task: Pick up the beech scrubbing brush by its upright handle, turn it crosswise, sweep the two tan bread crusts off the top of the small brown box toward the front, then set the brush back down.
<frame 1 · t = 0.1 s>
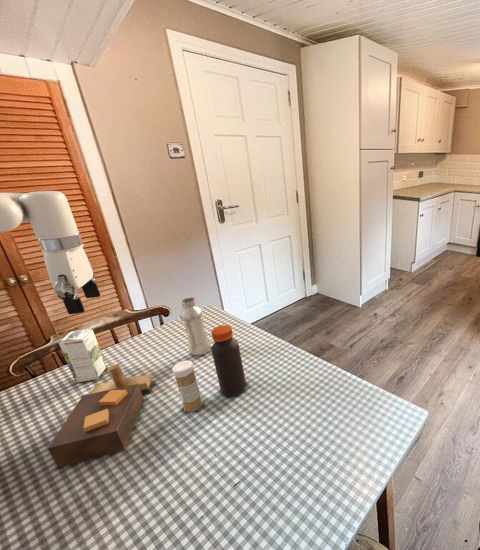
hand: (85, 304, 81), 26 cm above the table, tool pointing down, fingers open, 9 cm apart
crust1: (97, 422, 69), point 6 cm above the table, touching brown box
sprinkles bottle: (193, 406, 82), on the table
brown box: (106, 430, 74), on the table
vinegar: (234, 389, 87), on the table
plastic bottle: (201, 352, 104), on the table
syrup box: (92, 375, 93), on the table
crust: (114, 399, 76), point 6 cm above the table, touching brown box
brush: (124, 394, 86), on the table
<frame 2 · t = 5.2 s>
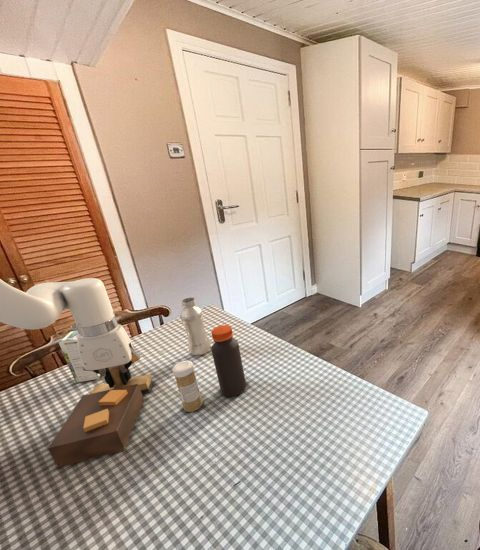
hand: (120, 382, 84), 4 cm above the table, tool pointing down, fingers closed on brush, 2 cm apart
brush: (124, 393, 86), on the table, touching gripper
everything else where it was.
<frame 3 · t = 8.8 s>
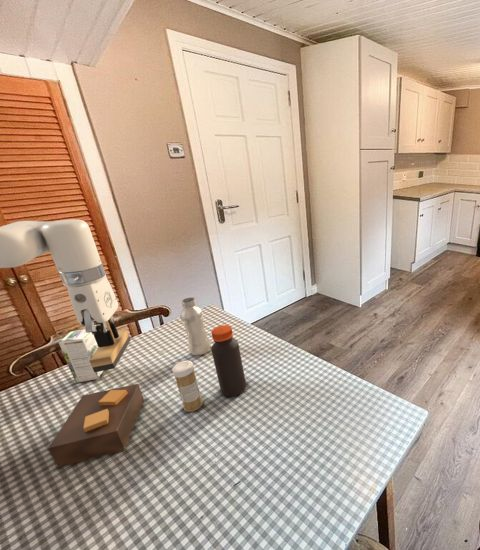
hand: (109, 341, 76), 19 cm above the table, tool pointing down, fingers closed on brush, 2 cm apart
brush: (114, 354, 78), point 15 cm above the table, touching gripper
everything else where it was.
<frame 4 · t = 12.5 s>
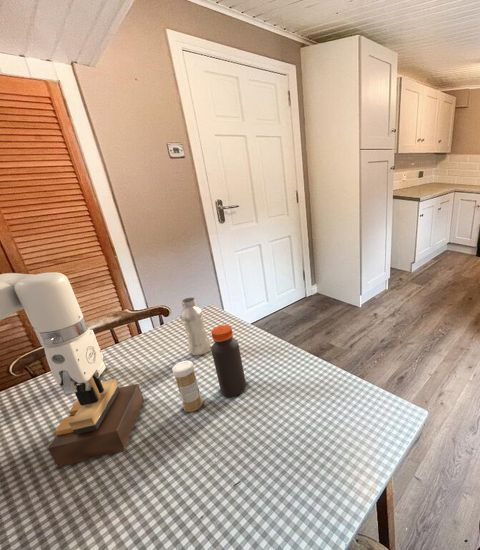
hand: (92, 397, 71), 10 cm above the table, tool pointing down, fingers closed on brush, 2 cm apart
crust1: (72, 426, 68), point 6 cm above the table
crust: (85, 407, 73), point 6 cm above the table
brush: (99, 410, 72), point 6 cm above the table, touching gripper
everything else where it was.
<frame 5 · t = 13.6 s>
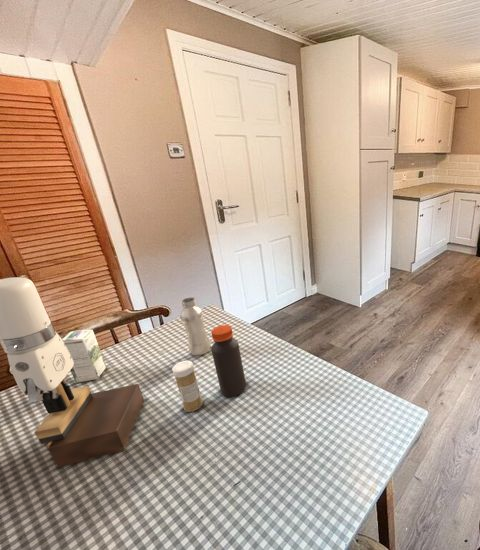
hand: (61, 405, 69), 10 cm above the table, tool pointing down, fingers closed on brush, 2 cm apart
crust1: (61, 443, 69), point 2 cm above the table, tilted 90°
crust: (58, 429, 73), point 1 cm above the table, tilted 180°
brush: (69, 418, 70), point 6 cm above the table, touching gripper
everything else where it was.
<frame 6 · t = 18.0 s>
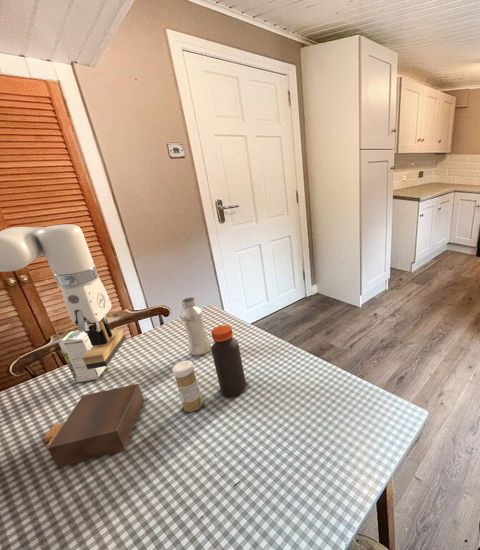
hand: (102, 340, 80), 18 cm above the table, tool pointing down, fingers closed on brush, 2 cm apart
brush: (108, 352, 81), point 14 cm above the table, touching gripper
everything else where it was.
when the fingers open (4 cm above the table, at t = 21.2 s): brush stays where it is, on the table.
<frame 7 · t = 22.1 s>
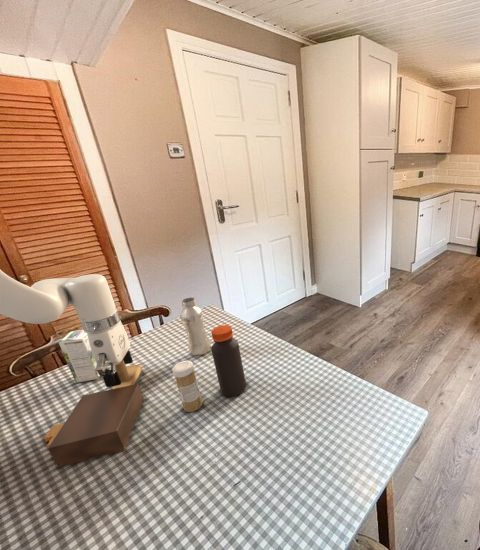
hand: (120, 373, 85), 6 cm above the table, tool pointing down, fingers open, 9 cm apart
brush: (128, 388, 87), on the table
everything else where it was.
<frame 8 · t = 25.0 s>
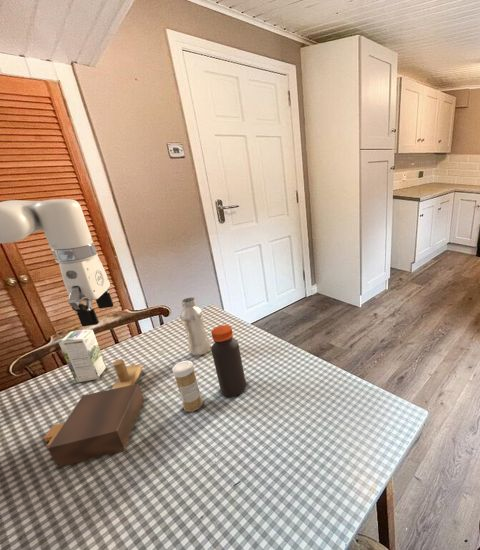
hand: (99, 315, 78), 24 cm above the table, tool pointing down, fingers open, 9 cm apart
nothing on the table moved.
at the end: crust1 point 2.0 cm above the table; crust point 1.2 cm above the table; the gripper is holding nothing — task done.
